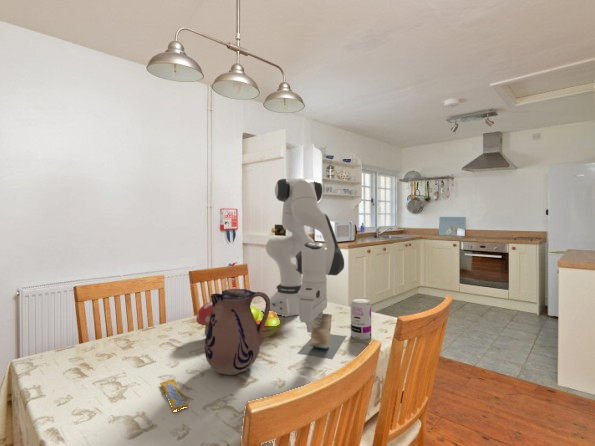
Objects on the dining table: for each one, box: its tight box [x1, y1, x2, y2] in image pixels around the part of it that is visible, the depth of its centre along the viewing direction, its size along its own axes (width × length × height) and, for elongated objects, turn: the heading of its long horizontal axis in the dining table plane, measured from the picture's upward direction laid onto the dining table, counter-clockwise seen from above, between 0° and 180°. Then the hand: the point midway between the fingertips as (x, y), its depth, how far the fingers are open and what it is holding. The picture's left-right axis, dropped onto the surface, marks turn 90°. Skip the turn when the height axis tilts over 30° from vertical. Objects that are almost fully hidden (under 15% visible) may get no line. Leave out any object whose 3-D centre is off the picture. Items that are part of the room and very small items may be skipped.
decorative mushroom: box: [195, 301, 212, 336], centre depth 131 cm, size 13×13×15 cm
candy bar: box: [159, 378, 189, 412], centre depth 89 cm, size 17×4×2 cm, turn 33°
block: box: [310, 313, 333, 349], centre depth 120 cm, size 6×4×12 cm
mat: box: [296, 333, 347, 360], centre depth 123 cm, size 13×22×1 cm, turn 158°
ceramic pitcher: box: [204, 288, 270, 376], centre depth 105 cm, size 18×21×25 cm
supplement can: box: [350, 298, 372, 341], centre depth 130 cm, size 8×8×15 cm
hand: (314, 327), depth 114 cm, fingers open, 8 cm apart
